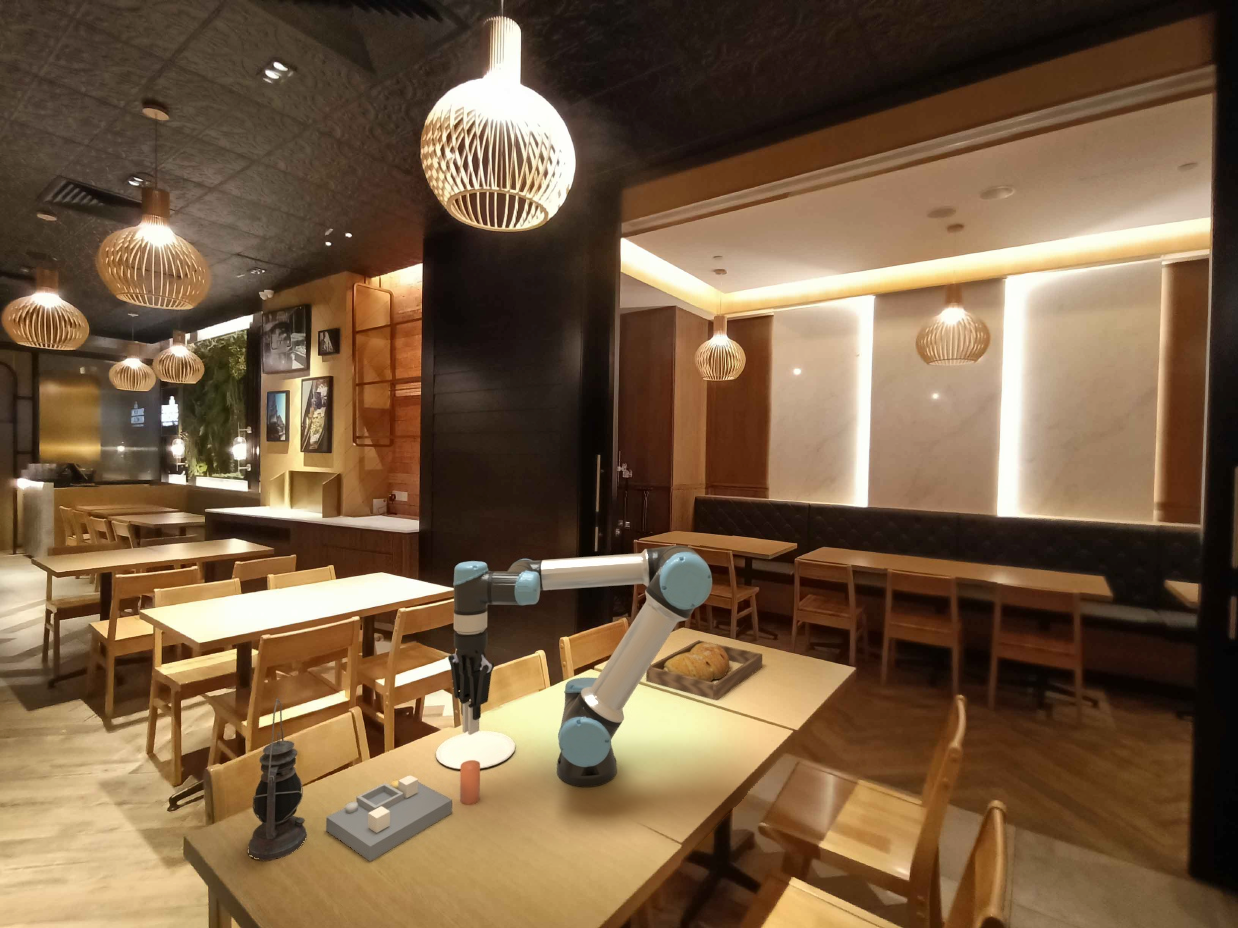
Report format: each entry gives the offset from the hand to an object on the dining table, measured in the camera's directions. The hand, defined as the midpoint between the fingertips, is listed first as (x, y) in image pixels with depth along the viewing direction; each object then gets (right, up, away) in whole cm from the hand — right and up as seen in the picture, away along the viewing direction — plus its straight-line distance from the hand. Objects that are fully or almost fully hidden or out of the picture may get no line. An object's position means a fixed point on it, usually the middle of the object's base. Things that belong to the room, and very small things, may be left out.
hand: (470, 730), depth 139 cm
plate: (-4, -16, +23) cm, 28 cm away
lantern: (-36, -16, -16) cm, 42 cm away
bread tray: (+66, -16, +83) cm, 108 cm away
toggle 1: (-15, -13, -15) cm, 25 cm away
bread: (+65, -16, +85) cm, 108 cm away
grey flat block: (-15, -16, -8) cm, 24 cm away
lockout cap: (0, -16, +1) cm, 16 cm away
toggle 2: (-13, -13, -3) cm, 19 cm away
